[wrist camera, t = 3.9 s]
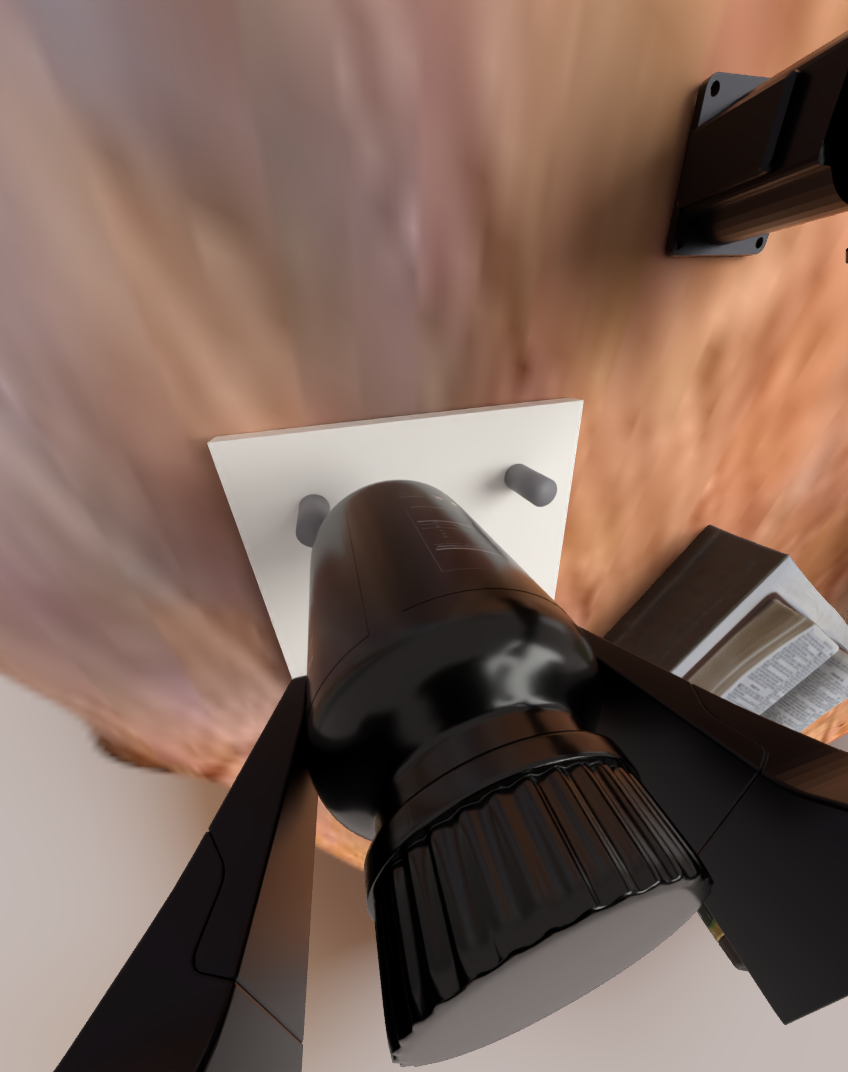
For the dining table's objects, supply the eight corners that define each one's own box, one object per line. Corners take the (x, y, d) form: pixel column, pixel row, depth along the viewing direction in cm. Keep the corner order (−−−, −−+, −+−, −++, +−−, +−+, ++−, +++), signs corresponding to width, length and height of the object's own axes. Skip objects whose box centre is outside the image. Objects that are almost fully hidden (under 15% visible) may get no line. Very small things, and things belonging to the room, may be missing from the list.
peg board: (567, 397, 21) (622, 406, 17) (537, 637, 31) (568, 677, 27) (215, 436, 17) (185, 459, 13) (306, 698, 27) (303, 755, 23)
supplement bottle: (419, 629, 17) (564, 1031, 7) (283, 587, 14) (184, 1183, 4) (497, 515, 15) (852, 834, 5) (360, 440, 12) (544, 845, 2)
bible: (648, 733, 47) (720, 816, 38) (548, 659, 33) (625, 762, 25) (796, 617, 43) (913, 681, 34) (750, 483, 30) (922, 533, 21)
